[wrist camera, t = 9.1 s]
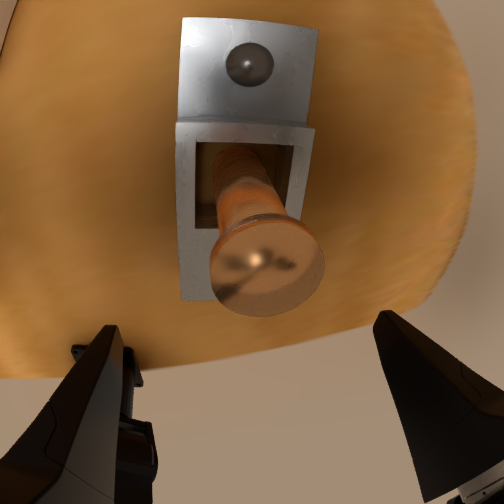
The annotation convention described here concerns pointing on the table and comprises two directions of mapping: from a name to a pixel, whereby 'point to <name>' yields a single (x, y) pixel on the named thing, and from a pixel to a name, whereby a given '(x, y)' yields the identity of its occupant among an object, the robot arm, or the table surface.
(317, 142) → the table surface
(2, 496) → the robot arm
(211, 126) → the slotted metal plate
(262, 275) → the pin
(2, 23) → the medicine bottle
